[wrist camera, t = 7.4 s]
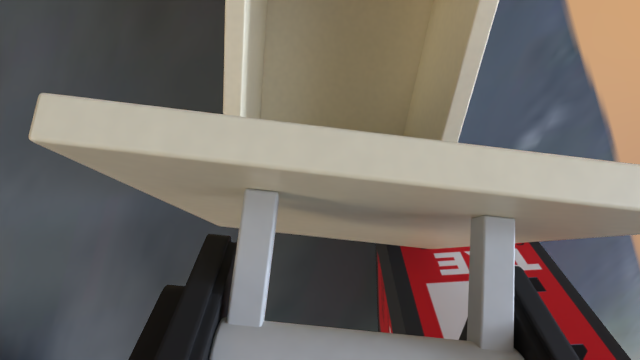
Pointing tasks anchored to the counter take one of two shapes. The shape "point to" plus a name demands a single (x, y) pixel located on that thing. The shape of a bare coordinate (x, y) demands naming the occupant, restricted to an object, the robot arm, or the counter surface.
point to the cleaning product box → (453, 287)
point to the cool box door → (346, 209)
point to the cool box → (356, 63)
